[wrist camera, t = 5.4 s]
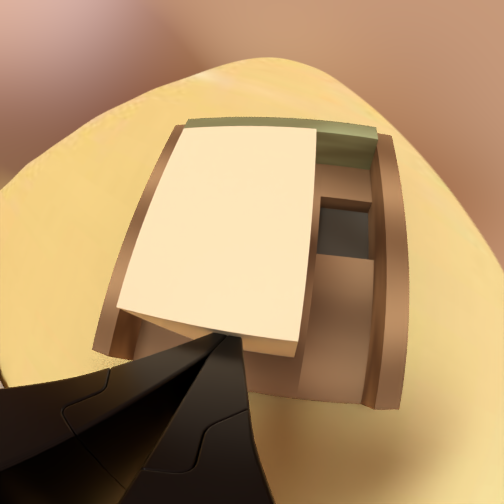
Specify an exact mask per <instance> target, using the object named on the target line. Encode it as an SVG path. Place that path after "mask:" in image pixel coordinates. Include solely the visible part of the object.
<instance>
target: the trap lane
mask: <svg viewBox="0 0 504 504" xmlns="http://www.w3.org/2000/svg"><path fill="white" fill-rule="evenodd" d="M220 126H273V127H296V128H311V129H316V157H315V177H314V194H313V209H312V222H311V234H310V245H309V256H308V266H307V275H306V284H305V293H304V301H303V309H302V317H301V324H300V332H299V339H298V344H297V348H296V352H295V356H294V358H293V357H285V356H278V355H271V354H264V353H257V352H251V351H245V350H243V353H244V363H245V372H246V382H247V391H250V392H256V393H261V394H268V395H274V396H281V397H288V398H296V399H304V400H313V401H324V402H337V403H355V404H363V405H365V406H367V407H370V408H372V409H378V410H386V409H399V406H400V401H401V394H402V388H403V380H404V372H405V363H406V353H407V340H408V323H409V262H408V244H407V232H406V221H405V212H404V204H403V196H402V189H401V183H400V176H399V171H398V165H397V160H396V155H395V150H394V145H393V140H392V136H390V135H385V134H379V133H377V130H376V127H371V126H364V125H357V124H350V123H342V122H333V121H323V120H311V119H297V118H275V117H222V118H200V119H188V121H187V123H186V125H176V126H175V128H174V130H173V131H172V133H171V135H170V137H169V139H168V141H167V143H166V145H165V147H164V149H163V151H162V153H161V155H160V157H159V159H158V161H157V163H156V165H155V167H154V169H153V171H152V174H151V176H150V178H149V180H148V182H147V185H146V187H145V189H144V191H143V194H142V196H141V198H140V201H139V203H138V206H137V208H136V210H135V213H134V215H133V218H132V220H131V223H130V225H129V228H128V231H127V233H126V236H125V239H124V241H123V244H122V247H121V250H120V253H119V255H118V258H117V261H116V264H115V267H114V270H113V274H112V277H111V280H110V283H109V286H108V290H107V293H106V296H105V300H104V304H103V307H102V311H101V315H100V318H99V322H98V326H97V330H96V334H95V339H94V343H93V348H92V350H94V351H97V352H99V353H102V354H104V355H106V356H110V357H115V358H121V359H127V360H133V361H134V360H137V359H140V358H143V357H146V356H149V355H152V354H155V353H158V352H161V351H164V350H167V349H170V348H172V347H175V346H178V345H181V344H184V343H186V342H189V341H192V340H193V339H191V338H188V337H185V336H183V335H180V334H178V333H175V332H173V331H170V330H168V329H165V328H163V327H160V326H158V325H156V324H153V323H151V322H149V321H146V320H144V319H142V318H139V317H137V316H135V315H133V314H130V313H128V312H126V311H124V310H122V309H119V308H117V307H116V306H117V303H118V299H119V295H120V292H121V288H122V285H123V282H124V278H125V275H126V272H127V268H128V265H129V262H130V259H131V256H132V253H133V250H134V247H135V244H136V241H137V238H138V235H139V233H140V230H141V227H142V224H143V222H144V219H145V216H146V214H147V211H148V208H149V206H150V203H151V201H152V198H153V196H154V193H155V191H156V189H157V186H158V184H159V181H160V179H161V177H162V174H163V172H164V170H165V167H166V165H167V163H168V161H169V159H170V156H171V154H172V152H173V150H174V148H175V146H176V144H177V141H178V139H179V137H180V135H181V133H182V131H183V129H184V128H197V127H220Z"/></svg>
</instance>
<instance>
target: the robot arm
mask: <svg viewBox="0 0 504 504" xmlns="http://www.w3.org/2000/svg"><path fill="white" fill-rule="evenodd" d="M0 504H276V503H275V501H274V498H273V495H272V493H271V490H270V487H269V484H268V482H267V479H266V476H265V473H264V470H263V468H262V465H261V462H260V459H259V455H258V452H257V448H256V445H255V441H254V436H253V430H252V424H251V416H250V409H249V400H248V391H247V382H246V372H245V363H244V353H243V343H242V338H241V337H236V336H231V335H228V336H227V335H225V334H219V333H214V332H213V333H210V334H208V335H205V336H203V337H200V338H197V339H195V340H192V341H189V342H186V343H184V344H181V345H178V346H175V347H172V348H170V349H167V350H164V351H161V352H158V353H155V354H152V355H149V356H146V357H143V358H140V359H137V360H134V361H131V362H128V363H125V364H121V365H118V366H115V367H112V368H111V370H110V368H107V369H104V370H100V371H97V372H93V373H89V374H86V375H82V376H78V377H73V378H68V379H63V380H58V381H52V382H46V383H40V384H33V385H26V386H18V387H10V388H1V389H0Z"/></svg>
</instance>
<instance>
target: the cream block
mask: <svg viewBox="0 0 504 504" xmlns="http://www.w3.org/2000/svg"><path fill="white" fill-rule="evenodd" d="M315 157H316V129H311V128H296V127H273V126H220V127H197V128H184V129H183V131H182V133H181V135H180V137H179V139H178V141H177V144H176V146H175V148H174V150H173V152H172V154H171V156H170V159H169V161H168V163H167V165H166V167H165V170H164V172H163V174H162V177H161V179H160V181H159V184H158V186H157V189H156V191H155V193H154V196H153V198H152V201H151V203H150V206H149V208H148V211H147V214H146V216H145V219H144V222H143V224H142V227H141V230H140V233H139V235H138V238H137V241H136V244H135V247H134V250H133V253H132V256H131V259H130V262H129V265H128V268H127V272H126V275H125V278H124V282H123V285H122V288H121V292H120V295H119V299H118V303H117V306H116V307H117V308H119V309H122V310H124V311H126V312H128V313H130V314H133V315H135V316H137V317H139V318H142V319H144V320H146V321H149V322H151V323H153V324H156V325H158V326H160V327H163V328H165V329H168V330H170V331H173V332H175V333H178V334H180V335H183V336H185V337H188V338H191V339H193V340H195V339H197V338H200V337H203V336H205V335H208V334H210V333H213V332H214V333H219V334H225V335H227V336H228V335H231V336H236V337H241V338H242V343H243V350H245V351H251V352H257V353H264V354H271V355H278V356H285V357H293V358H294V356H295V352H296V348H297V344H298V339H299V332H300V324H301V317H302V309H303V301H304V293H305V284H306V275H307V266H308V256H309V245H310V234H311V222H312V209H313V194H314V177H315Z"/></svg>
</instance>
